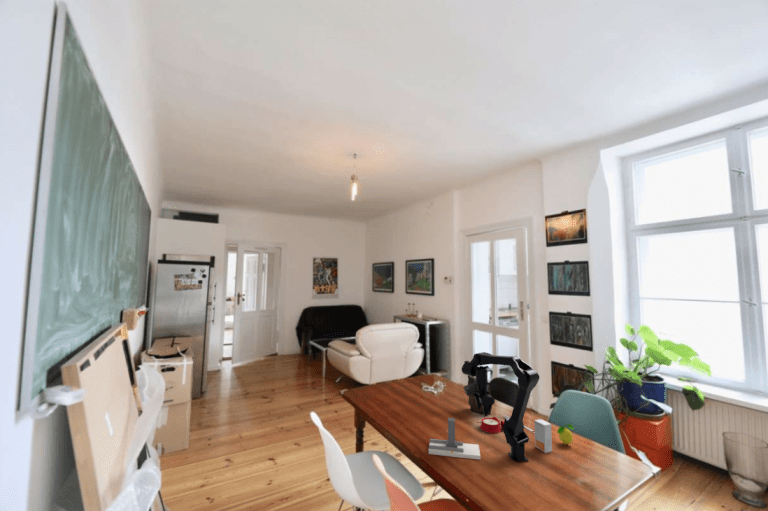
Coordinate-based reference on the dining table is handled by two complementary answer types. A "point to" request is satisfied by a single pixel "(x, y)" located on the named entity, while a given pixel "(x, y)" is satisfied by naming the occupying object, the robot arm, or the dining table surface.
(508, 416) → the fork
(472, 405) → the owl
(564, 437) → the lemon
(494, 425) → the alarm clock
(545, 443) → the skincare box
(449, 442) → the fader tab
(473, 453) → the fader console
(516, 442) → the robot arm
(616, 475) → the dining table surface
